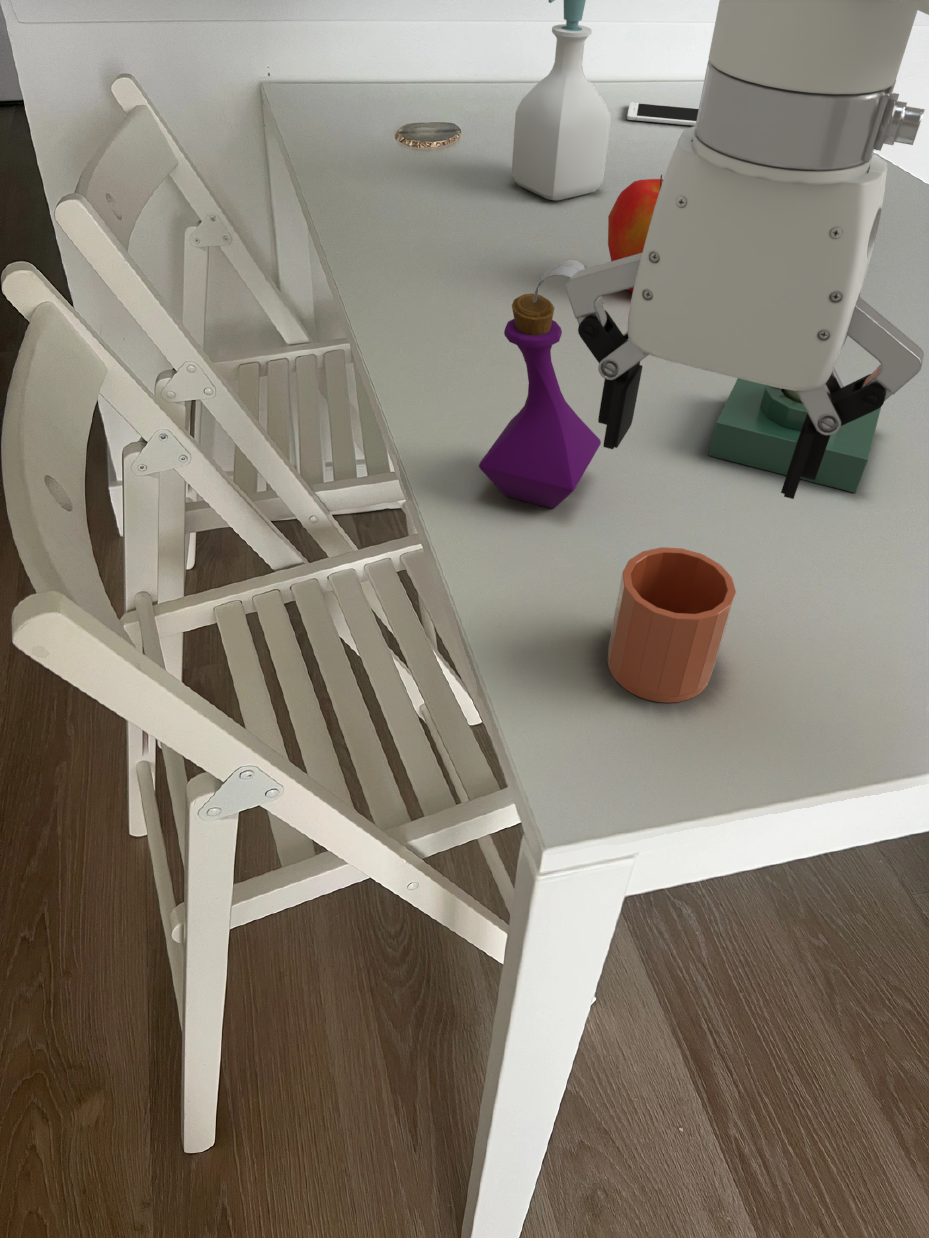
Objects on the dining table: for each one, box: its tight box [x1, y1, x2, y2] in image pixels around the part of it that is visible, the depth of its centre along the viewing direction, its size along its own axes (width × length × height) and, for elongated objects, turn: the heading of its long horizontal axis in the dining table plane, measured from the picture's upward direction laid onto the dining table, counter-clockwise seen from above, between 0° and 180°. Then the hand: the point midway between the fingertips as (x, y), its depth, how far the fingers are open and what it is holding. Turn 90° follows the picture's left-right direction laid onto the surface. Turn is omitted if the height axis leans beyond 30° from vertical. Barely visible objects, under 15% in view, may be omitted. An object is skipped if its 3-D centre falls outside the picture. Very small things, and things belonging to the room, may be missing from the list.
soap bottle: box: [511, 0, 612, 201], centre depth 121 cm, size 10×10×23 cm
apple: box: [607, 174, 664, 293], centre depth 102 cm, size 9×9×12 cm
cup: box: [606, 546, 737, 704], centre depth 61 cm, size 7×7×7 cm
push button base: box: [708, 378, 882, 494], centre depth 82 cm, size 12×10×5 cm
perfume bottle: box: [478, 259, 602, 509], centre depth 71 cm, size 8×8×18 cm
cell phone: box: [626, 102, 699, 127], centre depth 154 cm, size 8×16×1 cm, turn 80°
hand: (702, 460), depth 53 cm, fingers open, 9 cm apart
